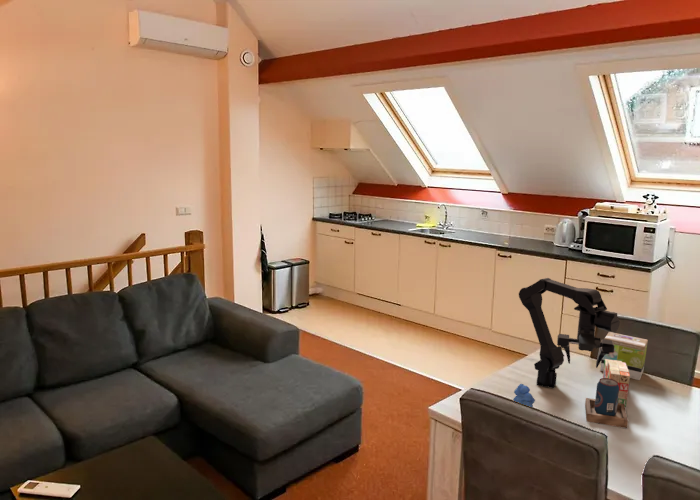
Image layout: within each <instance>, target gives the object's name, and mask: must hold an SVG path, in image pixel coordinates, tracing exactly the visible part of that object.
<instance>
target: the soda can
mask: <svg viewBox="0 0 700 500" xmlns="http://www.w3.org/2000/svg"><path fill="white" fill-rule="evenodd" d="M618 396H619V386H618V382H617V381H615V380H613V379H609V378H603V377H602V378H600V379H599V381H598V382H597V384H596V393H595V398H594V399H595V407H594V409H595V411H596V413H597V414H602V415H608V416H613V417H614V416H615V415H616V413H617V405H618Z"/></svg>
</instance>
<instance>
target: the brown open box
mask: <svg viewBox="0 0 700 500" xmlns="http://www.w3.org/2000/svg"><path fill="white" fill-rule="evenodd" d="M595 399H596V398H590V397H585V401H584V408H585V418H586V422H589V423H594V424H595V423H596V424H599V425H606V426H613V427H615V428H616V427H617V428H623V429H628V425H629V419H628V415H627V411H626V407H625V405H624V404H621V403H618V405H617V413H616V415H615V416H614V417H613V416H608V415H602V414H597V413H596V411H595V409H594V407H595Z"/></svg>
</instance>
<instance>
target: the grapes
mask: <svg viewBox="0 0 700 500" xmlns="http://www.w3.org/2000/svg"><path fill="white" fill-rule="evenodd" d="M530 391H531V389H530V387H528V385H525V384H523V383H519V384H518V385H517V387H516V389H515V390H514V391H513V393H514V394H515V396H514V398H513V400H514V401H516V402H519V403H521V404H524V405H527V406H530V407H532V408H533V407H534V405H533V404H534V403H535V402H536V399H535V397H534V396H533V395H532V394H531V393H530ZM514 401H513V402H514Z"/></svg>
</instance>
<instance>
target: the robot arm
mask: <svg viewBox="0 0 700 500" xmlns="http://www.w3.org/2000/svg"><path fill="white" fill-rule="evenodd" d="M546 292H551V293H553V294H556V295H559V296H562V297H565V298H567V299H570V300H572V301H573V302H574V303H575V304H577V306H575V307H574V308H573V310H575V311H579V314H578V326H577V334H576V338H573V337H572V338H571V337H570V334H565V333H564V334H563V333H558V334H557V340H556V342H557V344H555V342H554V341H553V338H552V337H553V336H552V335H551V331H550V329H549V325H548V324H547V321H546V317H545V314H544V311H543V309H542V304H543V294H544V293H546ZM518 297H519V300H520V302H521V304H522V305H523V307H525V309H527V311H528V313H529V317H530V318H531V321H532V324H533V327H534V330H535V331H534V332H535V334H536V337H537V339H538V343H539V346H540V350H539V359H540V360H538V361H537V362H535V363H534V364H533V365H534V370H535V371H537V377H536V386H538V387H544V388H551V389H554V388H555V386H556V385H557V374H558V373H557V372H556V369H559V368H560V366H562V365H563V364H564V361H565V354H566V357H567V363H568V364H571V351H570V350H571V349H570V344H571V345H578V347H577V348H578V350H579V351H588V352H591V353H592V352H593V351H594V349H598V352H597V353H598V354H597V356H596V361H595V362H596V363H595V368H597V369H598V367H599V365H601V360H602V358H603V357H604V356H605V355H606V354H610V353H614V342H613V341H612V340H605V339H604V338H603V339H601V337H596V329H599V330H603V331H606V332H613V333H616V332H617V331H618V330H619V327H620V323H621V321H620V318H619V317H618V312H614V311H609V310H608V308H607V306H606V304H605V303H604V300H603V299H602V294H601V293H600V291H599V290H597V289H594V288H589V287H588V288H586V287H585V288H583V287H575V286H574V285H573V286H572V285H569V284H565V283H563V282H560V281H557V280H554V279H551V278H549V277H545V278H541V279H539V280H537V281H536V282H534V283H532V284H530V285H528V286H526V287H522V288H521V289H520V290H519V292H518ZM562 349H563V350H564V351H565V354H564V353H563V350H562Z"/></svg>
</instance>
